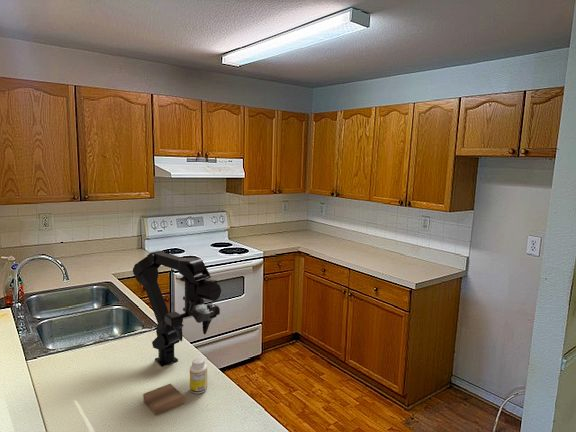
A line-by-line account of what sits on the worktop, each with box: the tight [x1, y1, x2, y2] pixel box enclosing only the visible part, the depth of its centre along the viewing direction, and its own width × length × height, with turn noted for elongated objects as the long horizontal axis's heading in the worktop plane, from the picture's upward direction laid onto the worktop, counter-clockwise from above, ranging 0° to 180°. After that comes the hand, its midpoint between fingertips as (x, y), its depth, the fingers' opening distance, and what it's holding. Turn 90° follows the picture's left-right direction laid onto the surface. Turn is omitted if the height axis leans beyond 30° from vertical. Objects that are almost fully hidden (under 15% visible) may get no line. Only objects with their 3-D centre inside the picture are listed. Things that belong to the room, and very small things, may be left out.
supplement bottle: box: [189, 357, 208, 394], centre depth 130 cm, size 6×6×10 cm
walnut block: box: [142, 383, 185, 416], centre depth 123 cm, size 9×9×3 cm
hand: (193, 337), depth 140 cm, fingers open, 9 cm apart
